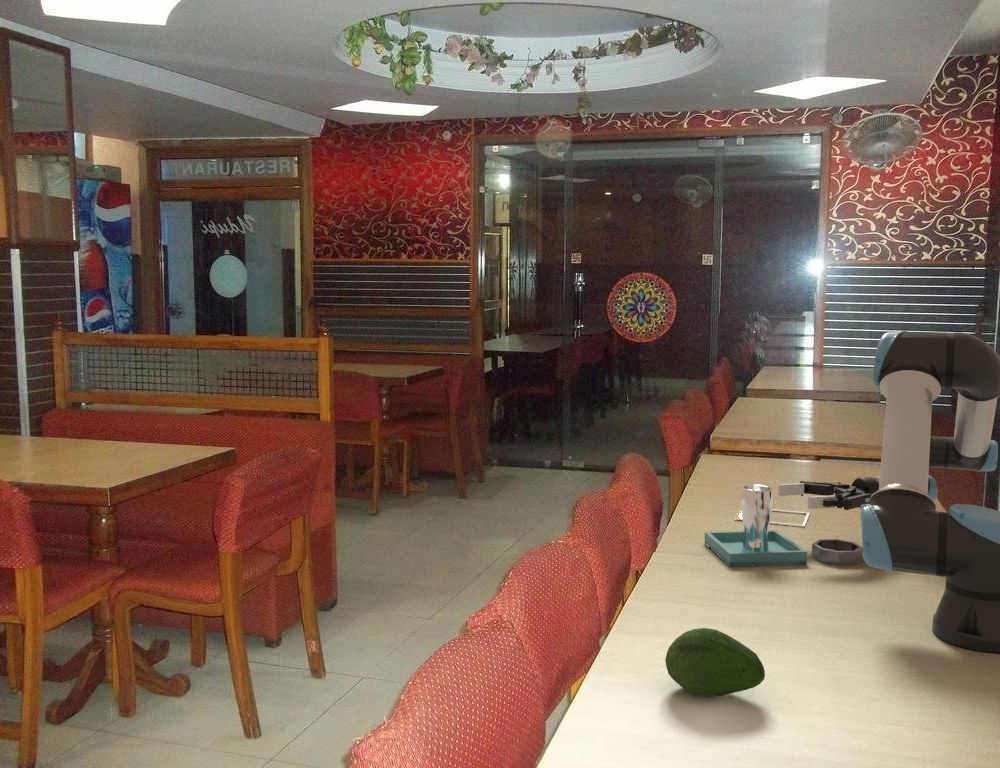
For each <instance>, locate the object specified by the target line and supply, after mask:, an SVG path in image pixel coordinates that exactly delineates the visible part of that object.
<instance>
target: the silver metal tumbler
mask: <svg viewBox="0 0 1000 768" xmlns="http://www.w3.org/2000/svg"><path fill="white" fill-rule="evenodd" d="M773 504H774V503H773V488H772V487H771V486H767V485H763V484H747V485H743V486H742V494H741V508H742V518H743V521H742V524H743V531H744V542H743V547H742V550H743V551H744V552H763V551H769V547H768V531H769V530H770V525H771V524H770V522H772V521H771V520H772V516H773V512H772V509H773V506H774V505H773Z"/></svg>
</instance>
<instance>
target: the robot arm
mask: <svg viewBox="0 0 1000 768" xmlns="http://www.w3.org/2000/svg"><path fill="white" fill-rule="evenodd" d="M873 364H874V365H873V370H872V383H873V384H874V385H875V386H878V387H879V388H878V389H879V391H880V394H881V396H883V397H884V398H885V399H886V400H885V413H884V423H883V424H884V426H883V433H882V434H883V436H882V437H883V438H882V448H881V461H880V469H879V470H880V472H879V475H878V476H864V477H860V476H859V477H856V479H854V480H853V482H852V484H851V485H850V483H842V482H825V481H810V480H809V481H806V480H800V481H799V483H797V482H796V483H779V484H777V485H778V487H777V488H778V489H777V496H779V497H781V496H782V497H785V496H801V497H804V495H805V494H806V495H815V496H808V499H807V509H809V510H815V509H817V510H818V509H834V508H835V509H836V508H837V509H843V510H845V511H849V510H852V509H858V508H859V509H860V510H859V511H860V523H861V524H860V525H861V540H862V541H861V543H862V547H863V561H864V563H865V564H866V565H867V566H869V567H870V568H874V569H879V570H886V571H888V572H901V573H908V574H909V573H910V574H915V575H916V574H917V575H918V574H919V575H927V576H933V577H934V576H935V577H943V578H945V584H944V585H945V586H944V592H943V594H942V596H941V598H940V601H939V603H938V606H937V608H936V611H935V612H934V614H933V616H932V627H931V631H932V633H933V634H934V635H935V636H936V637H938V638H939V639H940V640H942V641H945V642H946V643H949V644H952V645H955V646H957V647H960V648H965V649H969V650H974V651H979V652H985V653H1000V511H999V510H995V509H994V508H989V507H984V506H980V505H975V504H967V503H966V504H965V503H964V504H961V503H955V504H952V505H950V507H949V508H948V512H945V511H938V510H937V506H936V503H935V501H936V499H937V497H938V494H939V493H938V492H939V488H938V486H937V481H936V479H935V478H934V477H933V476H932V475H930V474H929V473H930V471H929V469H930V468H937V469H948V470H949V469H950V470H962V471H973V472H976V473H977V472H994V471H995V470H996V469H997V467H998V457H999V456H998V455H999V445H998V442H997V441H996V440H993V439H992V433H993V427H994V421H995V415H996V408H997V402H998V399H999V398H998V397H1000V355H999V354H998V353H997V351H996V350H995V349H994V348H993V347H992V346H991V345H990V344H989V343H987V342H985V340H983V339H981V338H980V337H978V336H975V335H973V334H970V333H966V332H946V331H945V332H941V331H939V332H937V331H907V330H901V331H888V332H885V333H883V334H882V336H881V337H880V339H879V341H878V343H877V347H876V352H875V356H874V363H873ZM942 389H943V390H946V389H947V390H953V389H954V390H956V392H957V393H958V394H957V405H956V412H955V425H954V434H953V435H954V436H938V435H931V434H932V433H931V431H932V415H933V414H932V411H933V409H932V408H933V401H935V400H936V399H938V397H940V394H941V393H942Z"/></svg>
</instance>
